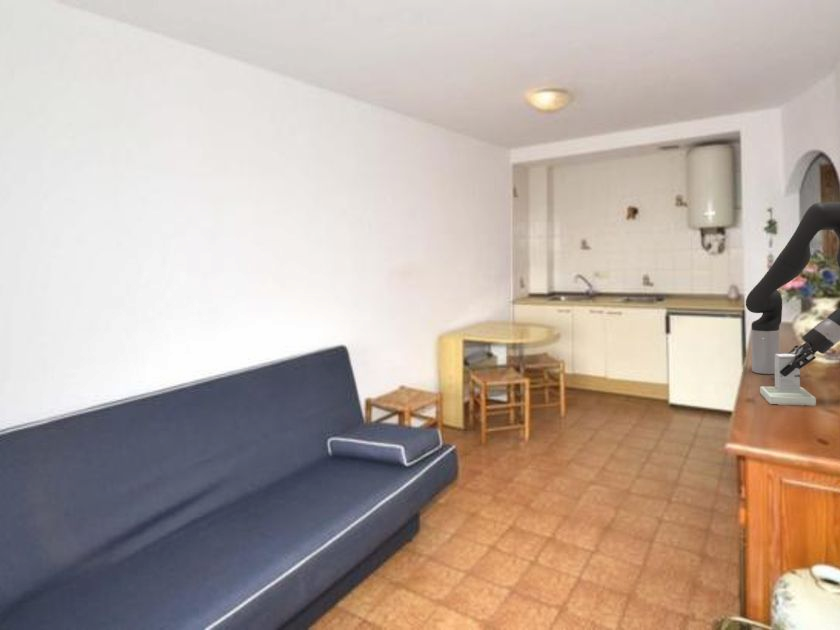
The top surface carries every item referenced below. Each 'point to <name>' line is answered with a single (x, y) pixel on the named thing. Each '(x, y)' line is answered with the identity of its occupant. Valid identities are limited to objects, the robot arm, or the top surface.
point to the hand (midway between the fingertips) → (780, 372)
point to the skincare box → (791, 380)
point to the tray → (787, 397)
